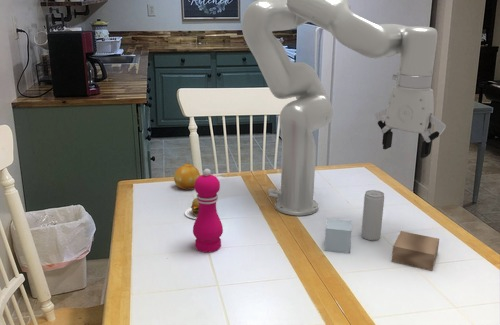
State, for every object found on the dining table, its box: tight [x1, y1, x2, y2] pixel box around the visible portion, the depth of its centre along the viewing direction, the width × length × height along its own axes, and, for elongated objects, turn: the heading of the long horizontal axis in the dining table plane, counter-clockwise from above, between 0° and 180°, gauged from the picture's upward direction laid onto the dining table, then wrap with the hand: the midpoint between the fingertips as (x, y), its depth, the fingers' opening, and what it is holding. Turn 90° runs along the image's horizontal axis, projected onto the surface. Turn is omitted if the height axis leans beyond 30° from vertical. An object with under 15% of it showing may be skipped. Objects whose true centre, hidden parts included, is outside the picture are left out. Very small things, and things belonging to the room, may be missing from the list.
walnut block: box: [391, 230, 440, 272], centre depth 120 cm, size 9×9×4 cm
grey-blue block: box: [323, 217, 352, 254], centre depth 125 cm, size 6×6×6 cm
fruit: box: [173, 162, 201, 190], centre depth 162 cm, size 8×8×8 cm
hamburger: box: [184, 197, 199, 220], centre depth 143 cm, size 12×12×6 cm
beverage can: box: [360, 189, 385, 241], centre depth 129 cm, size 5×5×12 cm
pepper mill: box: [192, 168, 224, 253], centre depth 122 cm, size 7×7×20 cm
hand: (405, 152), depth 123 cm, fingers open, 9 cm apart
